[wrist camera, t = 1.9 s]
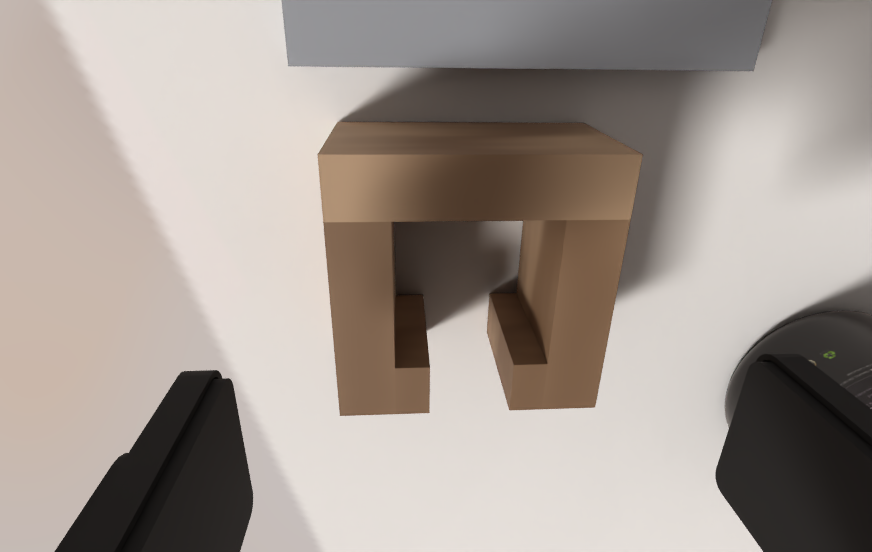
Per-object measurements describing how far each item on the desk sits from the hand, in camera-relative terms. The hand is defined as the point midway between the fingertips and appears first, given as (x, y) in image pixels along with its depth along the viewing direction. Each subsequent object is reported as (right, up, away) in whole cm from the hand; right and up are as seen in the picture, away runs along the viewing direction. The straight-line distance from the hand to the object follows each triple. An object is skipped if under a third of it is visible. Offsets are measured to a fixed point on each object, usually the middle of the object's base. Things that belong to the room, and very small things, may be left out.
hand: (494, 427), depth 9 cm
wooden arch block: (0, +4, +7) cm, 8 cm away
